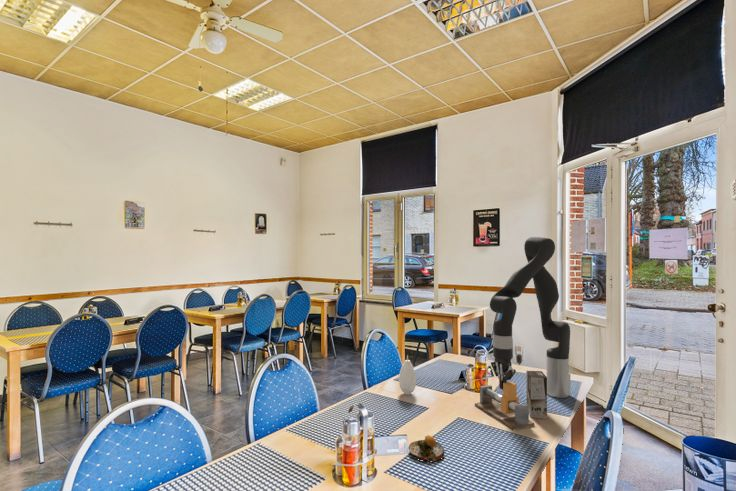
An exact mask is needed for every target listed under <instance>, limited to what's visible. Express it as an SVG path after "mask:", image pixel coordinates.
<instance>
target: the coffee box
mask: <svg viewBox="0 0 736 491" xmlns="http://www.w3.org/2000/svg"><path fill="white" fill-rule="evenodd" d="M525 382H526V404H527V405H529V418H536V419H547V418H548V399H547V398H548V394H547V375H546V374H544V372H543V371H541V370H526V381H525Z"/></svg>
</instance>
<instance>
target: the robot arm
mask: <svg viewBox="0 0 736 491" xmlns="http://www.w3.org/2000/svg"><path fill="white" fill-rule="evenodd" d="M523 246H524V248H523V249H524V253H525V257H526V260H527V261H526V262H527V263H526V264H525V265H523V266H521V267H520V268H518V269H517V270H516V271H514V272H513V273H512V274H511V276H509V277H510V278H509V279H508V280H507V281H506V284H505V285H504V286H502V287H501V288H500V289H499V290H498V291H496V292H495V293H494V294H493V296H492V297H491V299H490V301H489V307H490V310H491V311H492V312H493V313H496V314H497V313H498V314H501V318H498V319H495V320H494V322H493V338H492V339H493V340H492V345H493V346H492V356H493V358H494V361H491V362H490V366H491V368H492V370H493V373H494V375H495V377H497V378H498V382H499V384H498V386H499V389H500V390H502V391H503V383H507V382H508V381H511V380H512V378H513V377H514V375H515V374H516V372H517V370H516V369H514V368H513V367H512V360H513V359H514V358H513V357H514V340H513V323H514V320H515V317H516V313H517V310H518V309H517V302H516V300H515V298H519V297H521V295H522V293H524V290H525V288H526V287H527V286H528V284H529V283H530V282H531V280H533V286H534V290H535V291H534V292H535V296H536V301H537V303H538V308H539V314H540V322H541V330H542V335H543V337H544V339H545V340H546V341H549V342H555V343H558V346H555V347H551V348H548V349H546V377H547V396H551V397H553V398H556V399H557V398H558V399H560V398H561V399H565V398H569V397H570V396H571V374H570V372H569V371H570V364H569V362H570V358H569V356H570V348H571V347H570V344H571V343H570V342H571V327H570V324H569V323H567V322H564V321H557V320H556V321H555V320H553V319H552V312H553V310H554V308H555V307H556V305H557V303H558V302H559V298H560V294H559V289H558V284H557V281H556V280H555V278H554V277H553V276H552V274H551V273H550V272H549V270H547V268H546V266H545V265H546V264H547V263H548V262H549V261H550V260H551V259H552V257H553V256H554V254H555V251H556V244H555V242H554V240H553V239H552V238H547V237H537V236H531V237H530V236H529V237H528V238H527V239H525V241H524V245H523Z"/></svg>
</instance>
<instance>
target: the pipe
mask: <svg viewBox="0 0 736 491" xmlns="http://www.w3.org/2000/svg"><path fill="white" fill-rule="evenodd" d="M501 396H503V394H500V393H499V392H496V391H494V390H493V385H490V384H487V385H481V386H479V403H481V404H486V403H492V401H493V400H495V401H497V402H498V403H500V404H501ZM508 408H509V409H512V410H513V411H515V424H516V425H517V426H520V425H525V424H529V420H530V415H529V405H527V403H521V404H520V403H519V404H517V403H515V402H514V401H508Z"/></svg>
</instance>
